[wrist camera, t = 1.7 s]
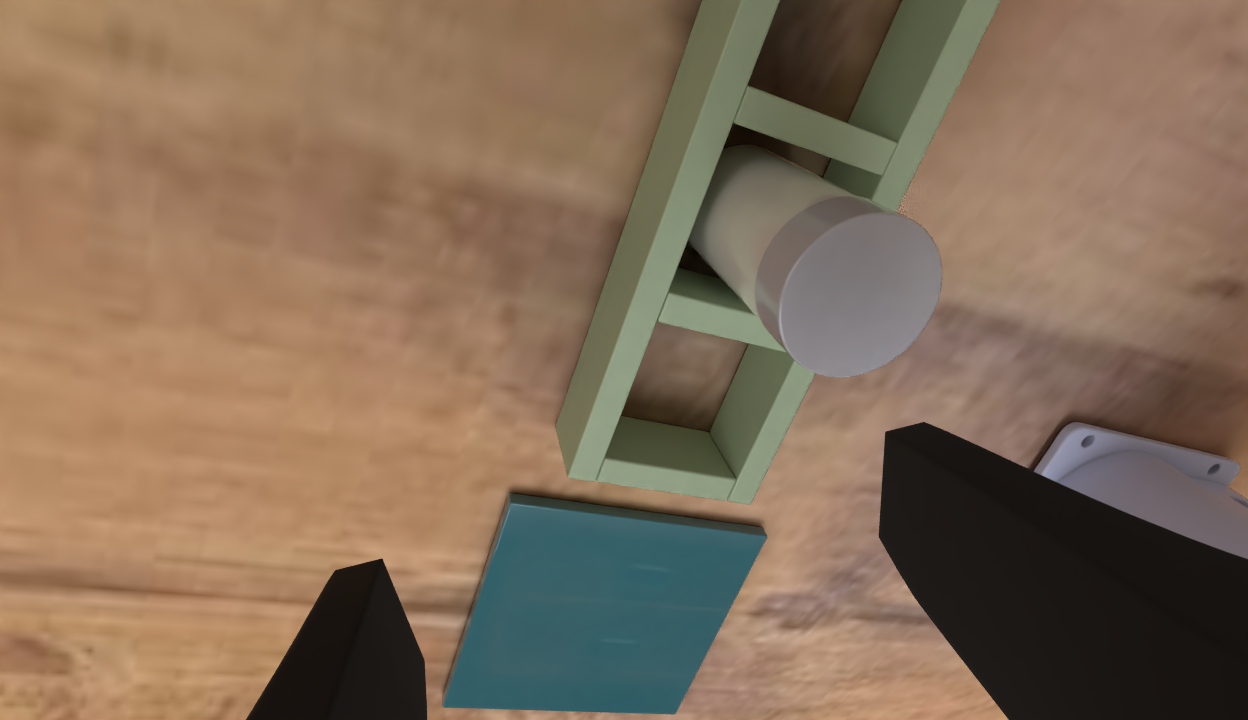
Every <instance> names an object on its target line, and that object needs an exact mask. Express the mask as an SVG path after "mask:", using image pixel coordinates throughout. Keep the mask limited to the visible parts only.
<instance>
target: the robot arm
mask: <svg viewBox="0 0 1248 720" xmlns="http://www.w3.org/2000/svg"><path fill="white" fill-rule="evenodd" d="M1239 471H1240V464H1239V463H1237V462H1235V461H1234V460H1232V459H1230V458H1228V457H1223V456H1219V455H1215V454H1211V453H1207V452H1202V451H1198V450H1194V449H1190V448H1186V447H1181V446H1177V445H1173V444H1169V443H1164V442H1160V441H1156V440H1152V439H1148V438H1143V437H1139V436H1135V435H1131V434H1127V433H1122V432H1118V431H1114V430H1110V429H1105V428H1101V427H1097V426H1093V425H1089V424H1084V423H1080V422H1073V423H1070V424H1068V425H1067V426H1065V427H1064V428H1063V429H1062V430H1061V431H1060V433H1059V434H1058V436H1057V437H1056V439H1055V440H1054V442H1053V443H1052V445H1051V446H1050V448H1049V449H1048V451H1047V452H1046V454H1045V455H1044V457H1043V458H1042V460H1041V461H1040V463H1039V464H1038V465H1037V467H1036V468H1035V470H1034V471H1031V470H1029V469H1027V468H1025V467H1023V466H1021V465H1018V464H1016V463H1014V462H1012V461H1010V460H1008V459H1006V458H1003V457H1001V456H999V455H997V454H995V453H993V452H991V451H988V450H986V449H984V448H982V447H980V446H978V445H975V444H973V443H971V442H969V441H967V440H965V439H962V438H960V437H958V436H956V435H954V434H951V433H949V432H947V431H944V430H942V429H940V428H937V427H935V426H933V425H930V424H928V423H925V422H922V423H918V424H914V425H910V426H906V427H902V428H898V429H894V430H891V431H887V432H885V446H884V462H883V478H882V493H881V509H880V525H879V538H880V540H881V542H882V543H883V545H884V547H885V549H886V550H887V552H888V554H889V556H890V557H891V559H892V561H893V563H894V564H895V566H896V568H897V570H898V571H899V573H900V575H901V576H902V578H903V579H904V581H905V583H906V584H907V586H908V588H909V589H910V591H911V592H912V594H913V596H914V597H915V599H916V600H917V601H918V603H919V604H920V605H921V607H922V608H923V609H924V611H925V612H926V613H927V615H928V616H929V617H930V619H931V620H932V621H933V623H934V624H935V625H936V626H937V628H938V629H939V630H940V632H941V633H942V634H943V636H944V637H945V638H946V640H947V641H948V642H949V643H950V645H951V646H952V647H953V649H954V650H955V651H956V652H957V654H958V655H959V656H960V658H961V659H962V660H963V661H964V663H965V664H966V665H967V667H968V668H969V669H970V670H971V672H972V673H973V674H974V676H975V677H976V678H977V679H978V681H979V682H980V683H981V685H982V686H983V687H984V688H985V690H986V691H987V692H988V693H989V695H990V696H991V697H992V699H993V700H994V701H995V702H996V704H997V705H998V706H999V708H1000V709H1001V710H1002V711H1003V713H1004V714H1005V715H1006V717H1007V718H1008V719H1009V720H1248V499H1246V498H1245V497H1243V496H1242V495H1240V494H1239V493H1237V492H1235V491H1234V490H1232V489H1231V488H1229V487H1228V486H1229V484H1230V483H1231V482H1232V481H1233V479H1234V478H1235V477H1236V476H1237V474H1238V473H1239ZM246 720H427V700H426V681H425V662H424V658H423V656H422V653H421V651H420V648H419V646H418V644H417V641H416V639H415V636H414V634H413V632H412V629H411V627H410V624H409V622H408V620H407V617H406V615H405V612H404V610H403V608H402V605H401V603H400V600H399V598H398V595H397V593H396V591H395V588H394V586H393V583H392V581H391V579H390V576H389V574H388V571H387V569H386V567H385V564H384V562H383V559H378V560H374V561H370V562H366V563H362V564H358V565H354V566H350V567H346V568H342V569H338V570H335V571H334V573H333V574H332V576H331V577H330V579H329V580H328V582H327V584H326V585H325V587H324V589H323V591H322V592H321V594H320V596H319V597H318V599H317V601H316V603H315V604H314V606H313V608H312V610H311V611H310V613H309V615H308V617H307V618H306V620H305V622H304V624H303V625H302V627H301V629H300V631H299V632H298V634H297V636H296V638H295V639H294V641H293V643H292V644H291V646H290V648H289V650H288V651H287V653H286V655H285V656H284V658H283V660H282V662H281V663H280V665H279V667H278V668H277V670H276V672H275V673H274V675H273V677H272V678H271V680H270V681H269V683H268V685H267V686H266V688H265V690H264V691H263V693H262V695H261V696H260V698H259V699H258V701H257V703H256V704H255V706H254V708H253V709H252V711H251V712H250V714H249V716H248V717H247V719H246Z"/></svg>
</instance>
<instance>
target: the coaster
mask: <svg viewBox="0 0 1248 720" xmlns="http://www.w3.org/2000/svg"><path fill="white" fill-rule="evenodd" d="M766 539H767V534H766V533H765V531H764V529H763V528H762V527H756V526H749V525H742V524H734V523H727V522H720V521H712V520H705V519H698V518H690V517H683V516H676V515H668V514H661V513H654V512H646V511H639V510H632V509H624V508H617V507H610V506H602V505H595V504H588V503H580V502H573V501H566V500H558V499H551V498H544V497H536V496H529V495H522V494H514V493H509V495H508V498H507V501H506V504H505V507H504V510H503V513H502V516H501V519H500V522H499V525H498V528H497V531H496V534H495V537H494V541H493V544H492V547H491V550H490V553H489V556H488V559H487V562H486V565H485V568H484V571H483V574H482V577H481V580H480V583H479V586H478V589H477V592H476V595H475V598H474V601H473V604H472V608H471V611H470V614H469V617H468V620H467V623H466V626H465V629H464V632H463V635H462V638H461V641H460V644H459V647H458V650H457V653H456V656H455V659H454V662H453V665H452V668H451V671H450V675H449V678H448V681H447V684H446V687H445V690H444V693H443V696H442V706H443V707H444V708H477V709H510V710H543V711H577V712H610V713H643V714H676V712H677V710H678V708H679V706H680V704H681V702H682V700H683V698H684V697H685V695H686V693H687V691H688V689H689V687H690V685H691V683H692V681H693V679H694V677H695V675H696V673H697V672H698V670H699V668H700V666H701V664H702V662H703V660H704V658H705V656H706V654H707V652H708V650H709V648H710V646H711V645H712V643H713V641H714V639H715V637H716V635H717V633H718V631H719V629H720V627H721V625H722V623H723V621H724V620H725V618H726V616H727V614H728V612H729V610H730V608H731V606H732V604H733V602H734V600H735V598H736V596H737V595H738V593H739V591H740V589H741V587H742V585H743V583H744V581H745V579H746V577H747V575H748V573H749V571H750V569H751V568H752V566H753V564H754V562H755V560H756V558H757V556H758V554H759V552H760V550H761V548H762V546H763V544H764V543H765V541H766Z"/></svg>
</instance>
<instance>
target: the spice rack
mask: <svg viewBox="0 0 1248 720" xmlns="http://www.w3.org/2000/svg"><path fill="white" fill-rule="evenodd" d="M779 1H780V0H702V2H701V5H700V8H699V11H698V14H697V17H696V20H695V22H694V25H693V28H692V31H691V34H690V37H689V40H688V43H687V46H686V49H685V51H684V54H683V57H682V60H681V63H680V66H679V69H678V72H677V75H676V78H675V81H674V83H673V86H672V89H671V92H670V95H669V98H668V101H667V104H666V107H665V110H664V112H663V115H662V118H661V121H660V124H659V127H658V130H657V133H656V136H655V139H654V142H653V144H652V147H651V150H650V153H649V156H648V159H647V162H646V165H645V168H644V171H643V173H642V176H641V179H640V182H639V185H638V188H637V191H636V194H635V197H634V200H633V203H632V205H631V208H630V211H629V214H628V217H627V220H626V223H625V226H624V229H623V232H622V234H621V237H620V240H619V243H618V246H617V249H616V252H615V255H614V258H613V261H612V264H611V266H610V269H609V272H608V275H607V278H606V281H605V284H604V287H603V290H602V293H601V295H600V298H599V301H598V304H597V307H596V310H595V313H594V316H593V319H592V322H591V325H590V327H589V330H588V333H587V336H586V339H585V342H584V345H583V348H582V351H581V354H580V356H579V359H578V362H577V365H576V368H575V371H574V374H573V377H572V380H571V383H570V386H569V388H568V391H567V394H566V397H565V400H564V403H563V406H562V409H561V412H560V415H559V417H558V420H557V423H556V426H555V427H556V432H557V436H558V440H559V444H560V448H561V452H562V456H563V460H564V464H565V469H566V473H567V477H568V478H572V479H579V480H586V481H593V482H594V481H597V482H601V483H608V484H615V485H622V486H628V487H635V488H642V489H649V490H655V491H662V492H669V493H676V494H682V495H689V496H696V497H703V498H709V499H716V500H723V501H725V500H727V501H729V502H735V503H742V504H748V505H750V504H751V503H752V501H753V499H754V497H755V495H756V493H757V491H758V489H759V487H760V485H761V483H762V481H763V479H764V476H765V474H766V472H767V470H768V468H769V466H770V464H771V462H772V460H773V458H774V456H775V454H776V452H777V450H778V448H779V446H780V444H781V442H782V440H783V438H784V436H785V434H786V432H787V430H788V428H789V426H790V424H791V422H792V420H793V418H794V416H795V414H796V412H797V410H798V408H799V406H800V404H801V402H802V400H803V398H804V396H805V394H806V392H807V390H808V388H809V386H810V384H811V382H812V380H813V378H814V376H815V374H816V373H813V372H811V371H809V370H807V369H805V368H803V367H802V366H801V365H799V364H798V363H797V362H796V361H795V360H794V359H793V358H792V357H791V356H790V355H789V354H788V353H787V352H786V351H785V350H784V349H783V348H782V347H781V345H780V344H779V343H778V342H777V341H776V340H775V339H774V338H773V337H772V336H771V335H770V334H769V332H768V331H767V330H766V328H765V327H764V325H763V324H762V322H761V320H760V319H759V318H758V317H757V316H756V315H755V314H754V313H753V312H752V311H751V310H750V309H749V308H748V307H747V306H746V304H745V303H744V302H743V301H742V300H741V299H740V298H739V297H738V296H737V295H736V294H735V293H734V292H733V291H732V290H731V289H730V287H729V286H728V285H727V284H726V283H725V282H724V281H723V280H722V279H720V278H716V277H712V276H708V275H705V274H701V273H697V272H694V271H690V270H686V269H682V268H679V267H678V264H679V262H680V259H681V257H682V254H683V251H684V249H685V246H686V244H687V241H688V238H689V236H690V233H691V231H692V228H693V225H694V223H695V220H696V218H697V215H698V212H699V210H700V207H701V205H702V202H703V199H704V197H705V194H706V192H707V189H708V186H709V184H710V181H711V178H712V176H713V173H714V171H715V168H716V165H717V163H718V160H719V158H720V155H721V152H722V150H723V147H724V145H725V142H726V139H727V137H728V134H729V132H730V129H731V126H732V124H733V123H734V124H737V125H740V126H743V127H745V128H748V129H751V130H754V131H757V132H759V133H762V134H765V135H768V136H771V137H773V138H776V139H779V140H782V141H785V142H787V143H790V144H793V145H796V146H799V147H801V148H804V149H807V150H810V151H813V152H815V153H818V154H821V155H824V156H827V157H829V158H832V159H831V161H830V163H829V165H828V168H827V170H826V172H825V174H824V176H823V178H825V179H827V180H829V181H831V182H833V183H835V184H836V185H838V186H840V187H842V188H844V189H846V190H848V191H850V192H852V193H854V194H856V195H858V196H860V197H863V198H867V199H871V200H873V201H876V202H878V203H880V204H882V205H884V206H886V207H888V208H890V209H892V210H894V211H897V209H898V207H899V204H900V202H901V200H902V198H903V196H904V194H905V192H906V190H907V188H908V186H909V184H910V182H911V180H912V178H913V176H914V174H915V172H916V170H917V168H918V166H919V164H920V162H921V160H922V158H923V156H924V154H925V152H926V150H927V148H928V146H929V144H930V142H931V140H932V138H933V136H934V134H935V132H936V130H937V128H938V126H939V124H940V122H941V120H942V118H943V116H944V114H945V112H946V110H947V108H948V106H949V104H950V102H951V100H952V98H953V96H954V94H955V92H956V90H957V88H958V86H959V84H960V82H961V80H962V78H963V76H964V74H965V72H966V70H967V67H968V65H969V63H970V61H971V59H972V57H973V55H974V53H975V51H976V49H977V47H978V45H979V43H980V41H981V39H982V37H983V35H984V33H985V31H986V29H987V27H988V25H989V23H990V21H991V19H992V17H993V15H994V13H995V11H996V9H997V7H998V5H999V3H1000V1H1001V0H902V2H901V4H900V6H899V8H898V11H897V13H896V15H895V17H894V20H893V22H892V24H891V26H890V29H889V31H888V33H887V35H886V38H885V40H884V42H883V44H882V46H881V49H880V51H879V53H878V55H877V58H876V60H875V62H874V64H873V67H872V69H871V71H870V73H869V76H868V78H867V80H866V82H865V85H864V87H863V89H862V91H861V94H860V96H859V98H858V100H857V103H856V105H855V107H854V109H853V111H852V114H851V116H850V118H849V120H848V123H845V122H843V121H840V120H838V119H835V118H832V117H830V116H827V115H824V114H822V113H819V112H817V111H814V110H811V109H809V108H806V107H803V106H801V105H798V104H796V103H793V102H790V101H788V100H785V99H782V98H780V97H777V96H775V95H772V94H769V93H767V92H764V91H761V90H759V89H756V88H754V87H751V86H748V82H749V80H750V77H751V74H752V72H753V69H754V66H755V64H756V61H757V59H758V56H759V53H760V51H761V48H762V46H763V43H764V40H765V38H766V35H767V33H768V30H769V27H770V25H771V22H772V20H773V17H774V14H775V12H776V9H777V7H778V4H779ZM657 321H658V322H661V323H665V324H669V325H673V326H678V327H682V328H686V329H690V330H694V331H699V332H703V333H707V334H711V335H715V336H720V337H724V338H728V339H732V340H737V341H741V342H745V343H749V345H748V347H747V349H746V351H745V354H744V356H743V358H742V360H741V363H740V365H739V367H738V369H737V372H736V374H735V376H734V378H733V381H732V383H731V385H730V387H729V389H728V392H727V394H726V396H725V398H724V401H723V403H722V405H721V407H720V410H719V412H718V414H717V416H716V419H715V421H714V423H713V425H712V428H711V430H710V432H709V433H708V432H705V431H700V430H695V429H689V428H684V427H678V426H673V425H667V424H662V423H657V422H651V421H646V420H640V419H635V418H629V417H624V416H621V413H622V410H623V408H624V405H625V403H626V400H627V397H628V395H629V392H630V390H631V387H632V384H633V382H634V379H635V376H636V374H637V371H638V369H639V366H640V363H641V361H642V358H643V356H644V353H645V350H646V348H647V345H648V343H649V340H650V337H651V335H652V332H653V330H654V327H655V324H656V322H657Z"/></svg>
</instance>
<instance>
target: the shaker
mask: <svg viewBox="0 0 1248 720" xmlns="http://www.w3.org/2000/svg"><path fill="white" fill-rule="evenodd" d="M688 243H689V244H690V245H691V247H692V248H693V249H694V250H695V251H696V252H697V253H698V254H699V256H700V257H701V258H702V259H703V260H704V261H705V262H706V263H707V264H708V265H709V266H710V267H711V268H712V269H713V270H714V271H715V273H716V274H717V275H718V276H719V277H720V278H721V279H722V280H723V281H724V282H725V283H726V284H727V285H728V286H729V287H730V289H731V290H732V291H733V292H734V293H735V294H736V295H737V296H738V297H739V298H740V299H741V300H742V301H743V302H744V303H745V304H746V306H747V307H748V308H749V309H750V310H751V311H752V312H753V313H754V314H755V315H756V316H757V317H758V318H759V319H760V320H761V322H762V324H763V325H764V327H765V328H766V330H767V331H768V332H769V334H770V335H771V336H772V337H773V338H774V339H775V340H776V341H777V342H778V343H779V344H780V345H781V347H782V348H783V349H784V350H785V351H786V352H787V353H788V354H789V355H790V356H791V357H792V358H793V359H794V360H795V361H796V362H797V363H798V364H799V365H801V366H802V367H803V368H805V369H807V370H809V371H811V372H813V373H816V374H819V375H822V376H828V377H852V376H857V375H861V374H865V373H867V372H870V371H873V370H875V369H877V368H879V367H882V366H884V365H885V364H887V363H889V362H890V361H892V360H893V359H895V358H896V357H897V356H899V355H900V354H901V353H902V352H904V351H905V350H906V349H907V348H908V347H909V346H910V345H911V344H912V343H913V342H914V341H915V340H916V339H917V338H918V336H919V335H920V334H921V332H922V331H923V330H924V328H925V327H926V325H927V323H928V322H929V320H930V318H931V316H932V314H933V312H934V310H935V308H936V305H937V302H938V299H939V295H940V291H941V285H942V264H941V258H940V255H939V251H938V248H937V246H936V244H935V242H934V240H933V239H932V237H931V236H930V235H929V233H928V232H927V231H926V230H925V229H924V228H923V227H922V226H921V225H920V224H918V223H917V222H915V221H914V220H912V219H910V218H908V217H906V216H904V215H902V214H900V213H898V212H896V211H894V210H892V209H890V208H888V207H886V206H884V205H882V204H880V203H878V202H876V201H873V200H871V199H867V198H863V197H860V196H858V195H856V194H854V193H852V192H850V191H848V190H846V189H844V188H842V187H840V186H838V185H836V184H835V183H833V182H831V181H829V180H827V179H825V178H823V177H821V176H819V175H817V174H815V173H813V172H811V171H809V170H807V169H805V168H803V167H801V166H799V165H797V164H795V163H793V162H791V161H789V160H787V159H785V158H783V157H781V156H779V155H777V154H775V153H773V152H771V151H769V150H767V149H765V148H762V147H759V146H754V145H737V146H732V147H729V148H725V149H723V150H722V152H721V155H720V158H719V160H718V163H717V165H716V168H715V171H714V173H713V176H712V178H711V181H710V184H709V186H708V189H707V192H706V194H705V197H704V199H703V202H702V205H701V207H700V210H699V212H698V215H697V218H696V220H695V223H694V225H693V228H692V231H691V233H690V236H689V238H688Z"/></svg>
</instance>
